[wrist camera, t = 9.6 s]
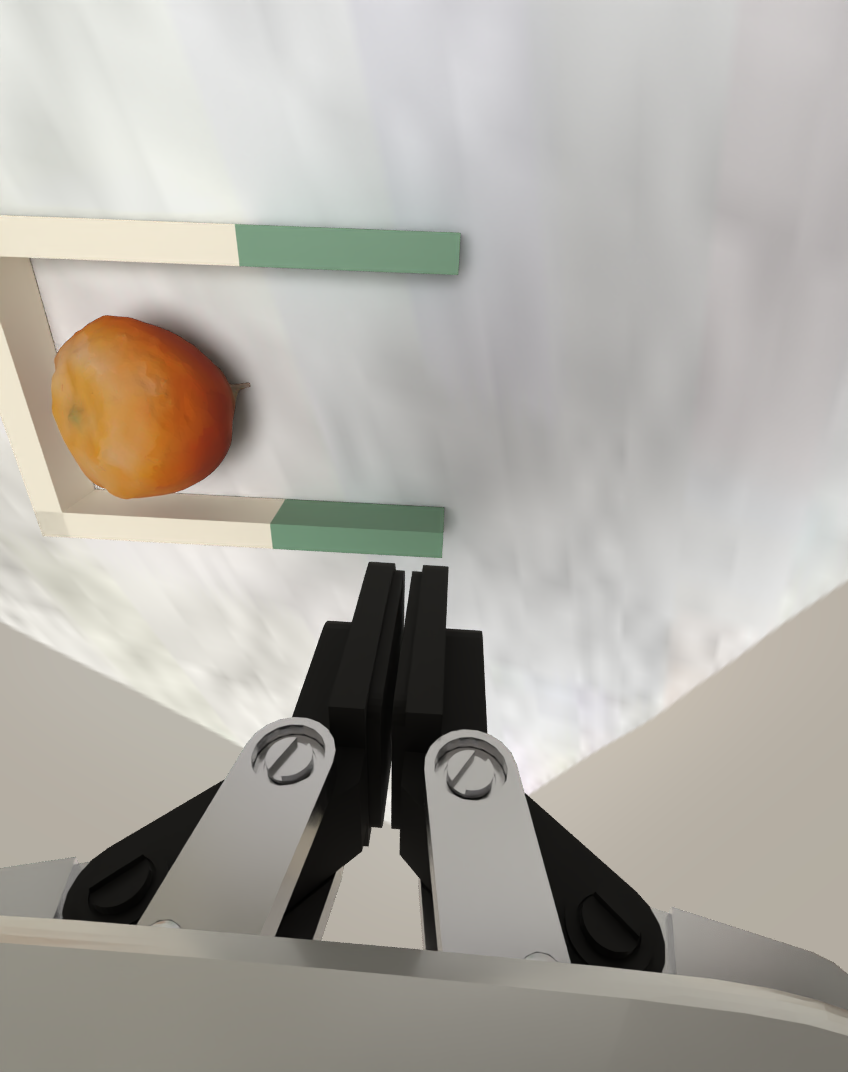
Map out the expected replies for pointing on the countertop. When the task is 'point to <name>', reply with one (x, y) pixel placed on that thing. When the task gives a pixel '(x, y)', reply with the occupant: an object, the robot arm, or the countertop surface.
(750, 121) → the countertop surface
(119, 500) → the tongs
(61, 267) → the countertop surface
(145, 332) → the fruit
